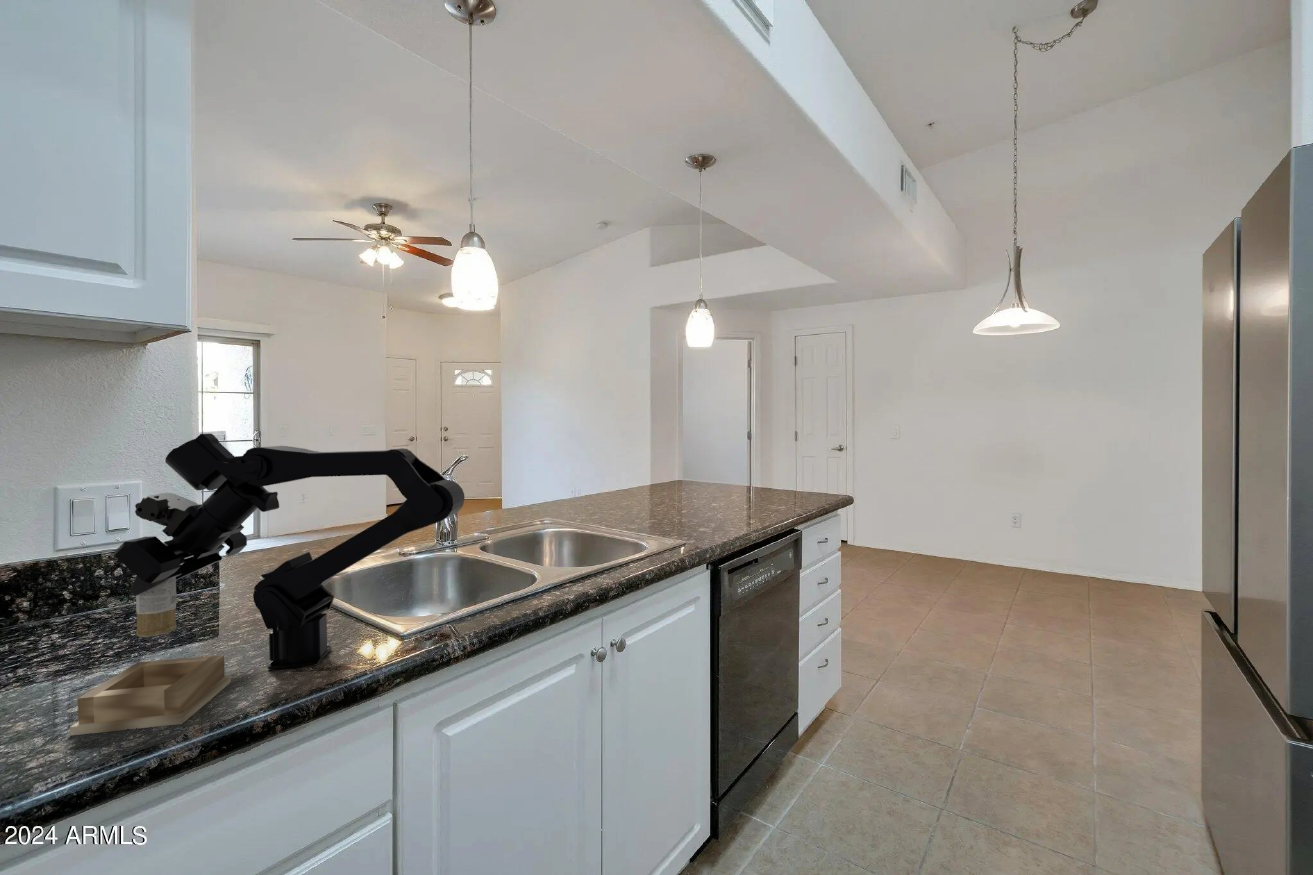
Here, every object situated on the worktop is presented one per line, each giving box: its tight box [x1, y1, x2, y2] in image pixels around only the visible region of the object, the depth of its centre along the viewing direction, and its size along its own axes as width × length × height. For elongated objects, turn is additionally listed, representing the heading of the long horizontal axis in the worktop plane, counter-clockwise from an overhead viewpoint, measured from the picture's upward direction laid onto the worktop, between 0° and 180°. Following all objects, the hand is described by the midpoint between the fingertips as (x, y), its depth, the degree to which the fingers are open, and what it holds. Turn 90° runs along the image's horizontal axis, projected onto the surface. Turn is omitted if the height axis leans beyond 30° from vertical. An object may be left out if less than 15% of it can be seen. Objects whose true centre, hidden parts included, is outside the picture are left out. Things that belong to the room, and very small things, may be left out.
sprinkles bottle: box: [135, 539, 177, 638], centre depth 82 cm, size 5×5×14 cm
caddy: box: [69, 654, 232, 737], centre depth 70 cm, size 11×11×4 cm
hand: (146, 588), depth 82 cm, fingers closed on sprinkles bottle, 4 cm apart
